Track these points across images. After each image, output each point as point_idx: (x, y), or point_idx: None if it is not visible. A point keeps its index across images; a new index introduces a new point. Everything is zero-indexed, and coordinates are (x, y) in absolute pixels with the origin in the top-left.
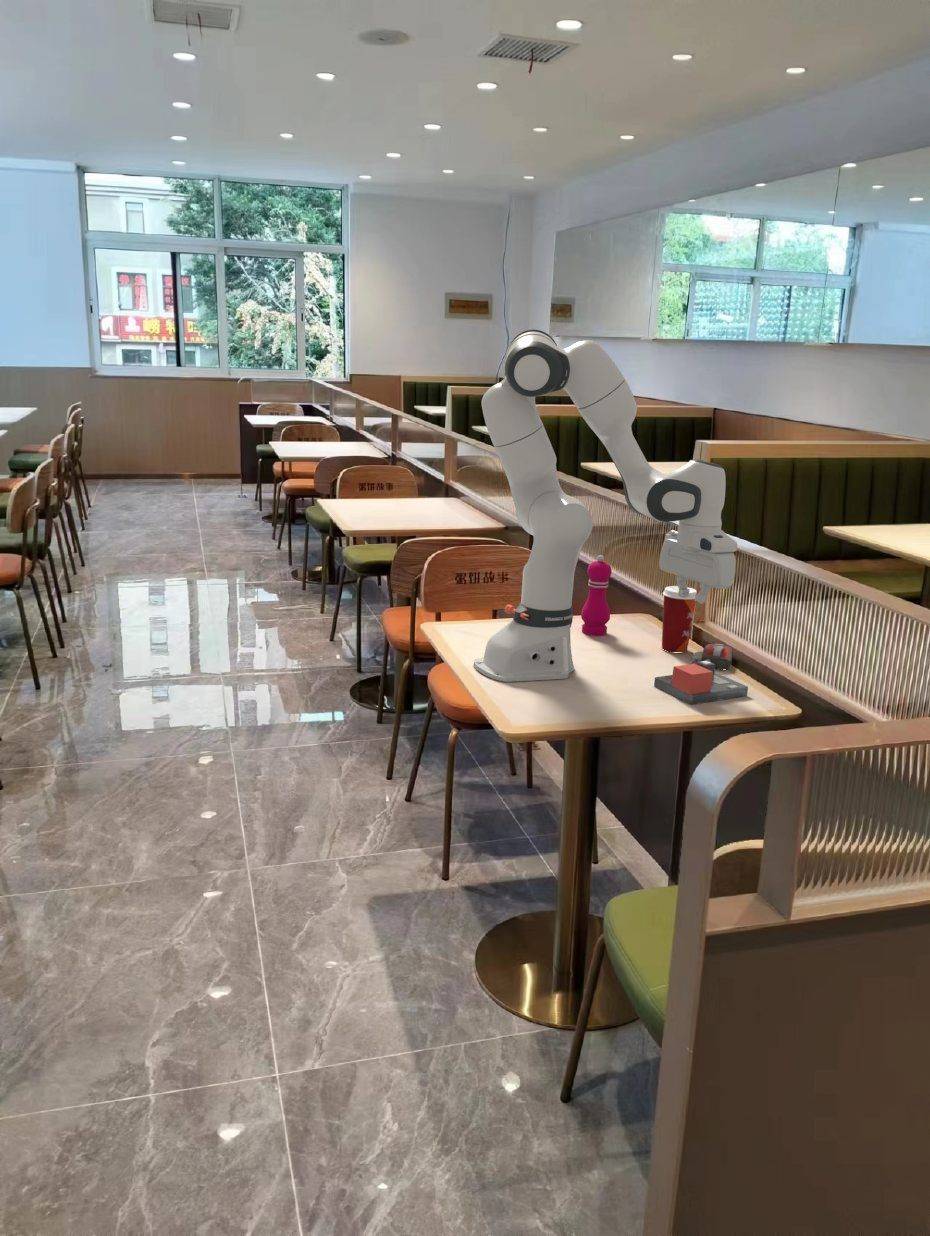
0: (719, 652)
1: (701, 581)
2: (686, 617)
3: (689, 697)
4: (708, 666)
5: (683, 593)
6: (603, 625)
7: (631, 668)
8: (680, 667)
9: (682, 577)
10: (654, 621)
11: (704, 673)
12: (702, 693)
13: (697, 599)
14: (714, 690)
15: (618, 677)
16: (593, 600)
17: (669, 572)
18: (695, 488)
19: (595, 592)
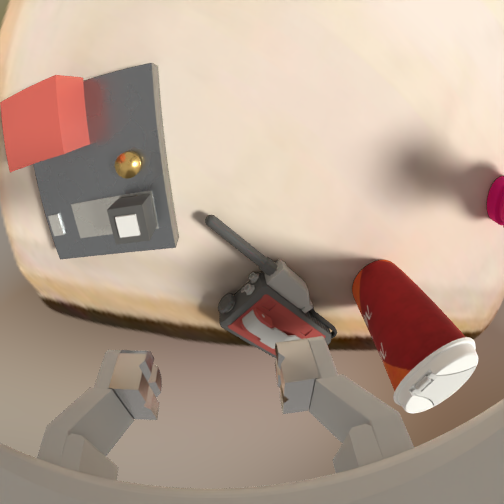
0: (246, 324)
1: (21, 466)
2: (383, 342)
3: None
4: (110, 219)
5: (282, 364)
6: (500, 211)
7: (309, 92)
8: (44, 92)
9: (349, 464)
10: (469, 323)
11: (5, 143)
12: None
13: (119, 362)
14: (41, 171)
15: (252, 17)
16: None
17: (481, 417)
18: None
19: None
